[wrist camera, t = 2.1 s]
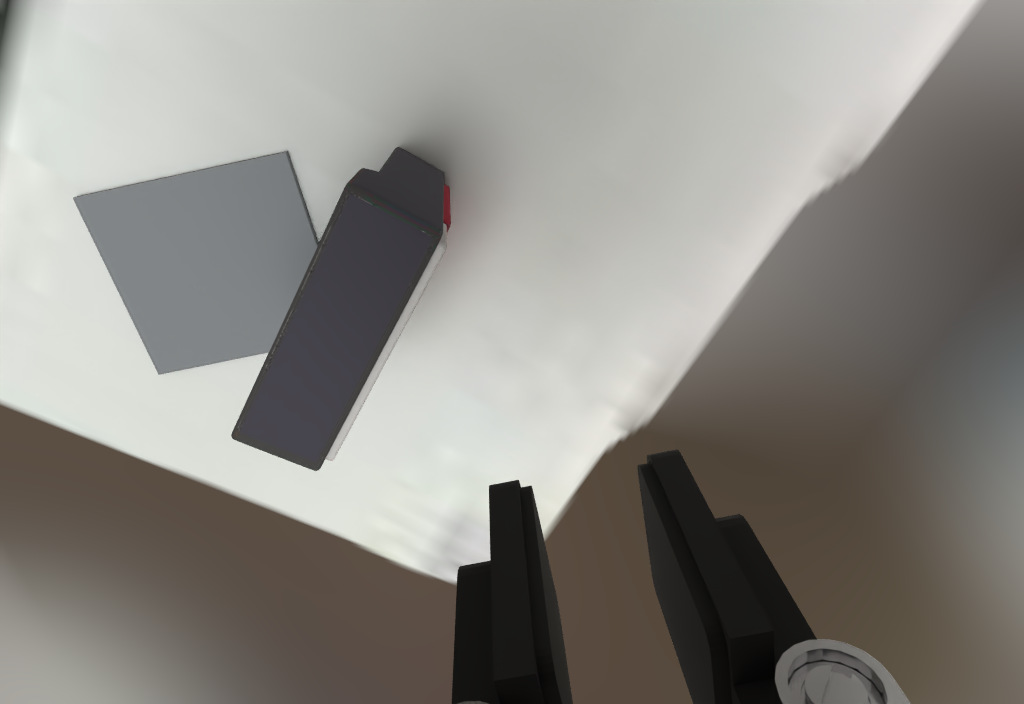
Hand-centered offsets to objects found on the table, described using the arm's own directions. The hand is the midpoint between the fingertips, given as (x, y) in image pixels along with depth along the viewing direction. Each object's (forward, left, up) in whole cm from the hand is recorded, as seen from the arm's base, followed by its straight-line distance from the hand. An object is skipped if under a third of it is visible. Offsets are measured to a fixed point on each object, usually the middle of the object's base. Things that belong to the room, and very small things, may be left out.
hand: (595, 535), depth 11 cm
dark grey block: (+8, 0, -27) cm, 28 cm away
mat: (+18, 0, -27) cm, 32 cm away
